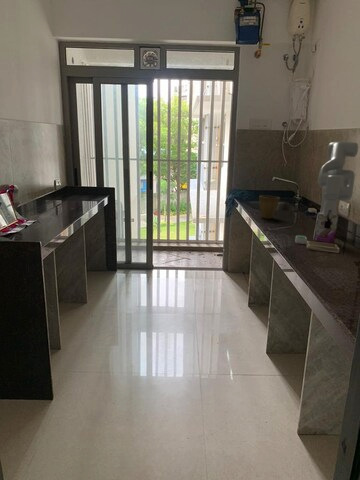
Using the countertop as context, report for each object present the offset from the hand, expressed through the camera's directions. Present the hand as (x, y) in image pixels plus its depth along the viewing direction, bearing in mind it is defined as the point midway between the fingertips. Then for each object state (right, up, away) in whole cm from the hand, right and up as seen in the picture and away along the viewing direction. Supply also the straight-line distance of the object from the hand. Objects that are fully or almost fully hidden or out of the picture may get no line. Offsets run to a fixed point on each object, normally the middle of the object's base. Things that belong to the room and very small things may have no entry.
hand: (325, 226), depth 207 cm
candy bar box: (0, -9, +3) cm, 9 cm away
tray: (-7, -12, -13) cm, 19 cm away
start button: (-16, -8, -3) cm, 18 cm away
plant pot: (-19, +9, +63) cm, 66 cm away
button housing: (-16, -9, -3) cm, 18 cm away
